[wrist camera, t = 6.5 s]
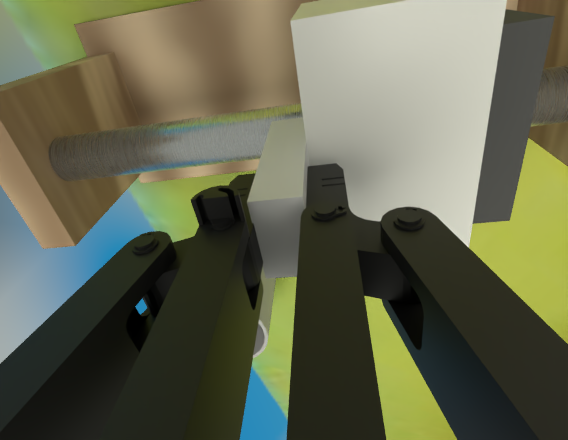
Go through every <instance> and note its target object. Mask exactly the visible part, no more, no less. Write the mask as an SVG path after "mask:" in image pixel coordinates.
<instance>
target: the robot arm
mask: <svg viewBox="0 0 568 440" xmlns="http://www.w3.org/2000/svg"><path fill="white" fill-rule="evenodd" d="M191 203H192V206H193V208H194V211H195V214H196V217H197V220H198V223H199V228H198V230H197V232H196V234H195V236H194V237H191V238H188V239H184V240H181V241H177V242H174V243H172V240H171V238H170V236H169V235H168V234H167V233H165V232H161V231H156V232H148V233H144V234H141V235H140V236H138V237H136V238H134V239H133V240H131V241H130V242H128V243H127V244H126V245H125V246H124V247H123V248H122V249H121V250H119V251H118V252H117V253H116V254H115V255H114V256H113V257H112V258H111V259H110V260H109V261H108V262H107V263H106V264H105V265H104V266H103V267H102V268H101V269H99V270H98V271H97V272H96V273H95V274H94V275H93V276H92V277H91V278H90V279H89V280H88V281H87V282H86V283H85V284H84V285H83V286H82V287H81V288H79V289H78V290H77V291H76V292H75V293H74V294H73V295H72V296H71V297H70V298H69V299H68V300H67V301H66V302H65V303H64V304H63V305H62V306H61V307H60V308H58V309H57V310H56V311H55V312H54V313H53V314H52V315H51V316H50V317H49V318H48V319H47V320H46V321H45V322H44V323H43V324H42V325H41V326H40V327H38V328H37V329H36V331H34V332H33V333H32V334H31V335H30V336H29V337H28V338H27V339H26V340H25V341H24V342H23V343H22V344H21V345H20V346H19V347H18V348H16V349H15V350H14V351H13V352H12V353H11V354H10V355H9V356H8V357H7V358H6V359H5V360H4V361H3V362H2V363H1V364H0V440H239V439H240V433H241V427H242V421H243V415H244V409H245V403H246V396H247V390H248V384H249V378H250V372H251V366H252V360H253V353H254V347H255V341H256V335H257V329H258V323H259V317H260V310H261V304H262V298H263V292H264V290H263V283H262V280H261V272H262V267H263V269H264V273H265V277H266V279H268V278H282V277H297V284H296V300H295V315H294V331H293V347H292V362H291V378H290V394H289V409H288V425H287V440H386V435H385V429H384V422H383V415H382V409H381V402H380V396H379V389H378V383H377V376H376V370H375V363H374V357H373V350H372V344H371V337H370V331H369V324H368V318H367V311H366V305H365V298H364V296H369V297H375V298H380V299H382V302H383V306H384V307H385V309H386V311H387V313H388V315H389V317H390V318H391V320H392V322H393V324H394V326H395V327H396V329H397V331H398V333H399V335H400V336H401V338H402V340H403V342H404V344H405V346H406V347H407V349H408V351H409V353H410V355H411V356H412V358H413V360H414V362H415V364H416V365H417V367H418V369H419V371H420V373H421V374H422V376H423V378H424V380H425V382H426V384H427V385H428V387H429V389H430V391H431V393H432V394H433V396H434V398H435V400H436V402H437V403H438V405H439V407H440V409H441V411H442V412H443V414H444V416H445V418H446V420H447V422H448V423H449V425H450V427H451V429H452V431H453V432H454V434H455V436H456V438H457V440H568V344H567V343H566V342H565V341H564V340H563V339H562V338H561V337H560V336H559V335H558V334H557V333H556V332H555V331H554V330H553V329H552V328H551V327H550V326H548V325H547V324H546V323H545V322H544V321H543V320H542V319H541V318H540V317H539V316H538V315H537V314H536V313H535V312H534V311H533V310H532V309H531V308H530V307H529V306H528V305H527V304H526V303H525V302H524V301H523V300H522V299H521V298H520V297H519V296H518V295H517V294H516V293H515V292H514V291H513V290H512V289H511V288H509V287H508V286H507V285H506V284H505V283H504V282H503V281H502V280H501V279H500V278H499V277H498V276H497V275H496V274H495V273H494V272H493V271H492V270H491V269H490V268H489V267H488V266H487V265H486V264H485V263H484V262H483V261H482V260H481V259H480V258H479V257H478V256H477V255H476V254H475V253H474V252H473V251H472V250H470V249H469V248H468V247H467V246H466V245H465V244H464V243H463V242H462V241H461V240H460V239H459V238H458V237H457V236H456V235H455V234H454V233H453V232H452V231H451V230H450V229H449V228H448V227H447V226H446V225H445V224H444V223H443V222H442V221H441V220H440V219H439V218H438V217H437V216H436V215H434V214H433V213H431V212H430V211H428V210H425V209H421V208H417V207H400V208H395V209H393V210H390V211H388V212H387V213H385V214H384V215H383V216H382V219H381V221H372V220H366V219H363V218H360V217H358V216H356V215H354V214H353V213H352V212H351V210H350V208H349V204H348V197H347V191H346V184H345V178H344V171H343V168H341V167H340V166H339V165H338V164H337V163H333V164H324V165H316V166H309V159H308V151H307V143H306V137H305V129H304V122H303V117H301V118H293V119H286V120H278V121H272V122H271V125H270V129H269V132H268V135H267V138H266V142H265V145H264V148H263V151H262V155H261V158H260V161H259V164H258V168H257V171H256V173H254V174H246V175H238V176H237V177H236V178H235V179H234V180H232V181H231V182H230V184H229V186H216V187H211V188H208V189H206V190H203V191H201V192H199V193H198V194H196V195H195V196H194V197H193V198H192V199H191ZM142 298H143V300H144V302H145V304H146V306H147V309H146V310H145V311H144V312H143V313H142V314H141V315H140V314H139V313H138V311H137V309H136V307H135V306H136V305H137V304H138V303H139V301H140V300H141V299H142Z"/></svg>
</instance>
